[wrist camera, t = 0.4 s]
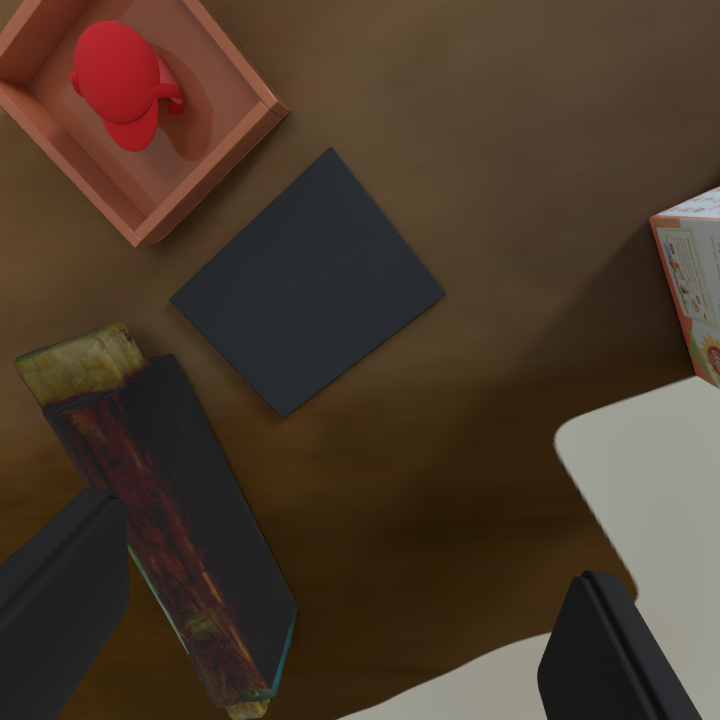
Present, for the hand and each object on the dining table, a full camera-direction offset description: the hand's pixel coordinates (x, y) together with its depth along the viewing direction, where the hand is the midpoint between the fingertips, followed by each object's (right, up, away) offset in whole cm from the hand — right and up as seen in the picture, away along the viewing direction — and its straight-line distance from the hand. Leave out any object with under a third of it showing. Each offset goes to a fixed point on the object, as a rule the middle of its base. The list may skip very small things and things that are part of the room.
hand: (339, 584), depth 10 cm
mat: (-4, +10, +29) cm, 30 cm away
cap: (-15, +24, +24) cm, 37 cm away
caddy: (-15, +24, +24) cm, 37 cm away
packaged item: (-15, -10, +37) cm, 41 cm away
